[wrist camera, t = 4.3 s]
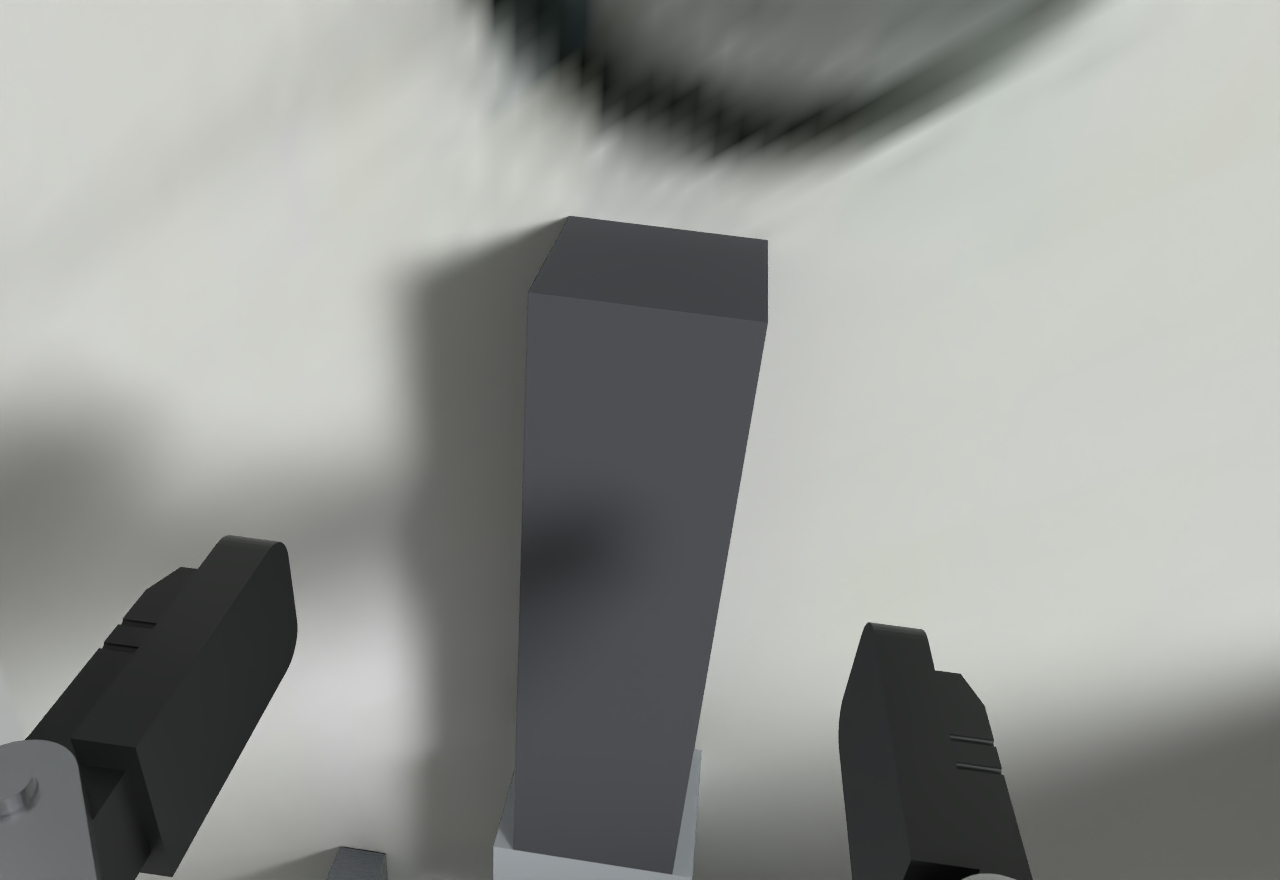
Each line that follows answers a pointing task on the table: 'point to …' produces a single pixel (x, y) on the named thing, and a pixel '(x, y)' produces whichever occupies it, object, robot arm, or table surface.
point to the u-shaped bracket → (358, 865)
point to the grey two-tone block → (625, 539)
